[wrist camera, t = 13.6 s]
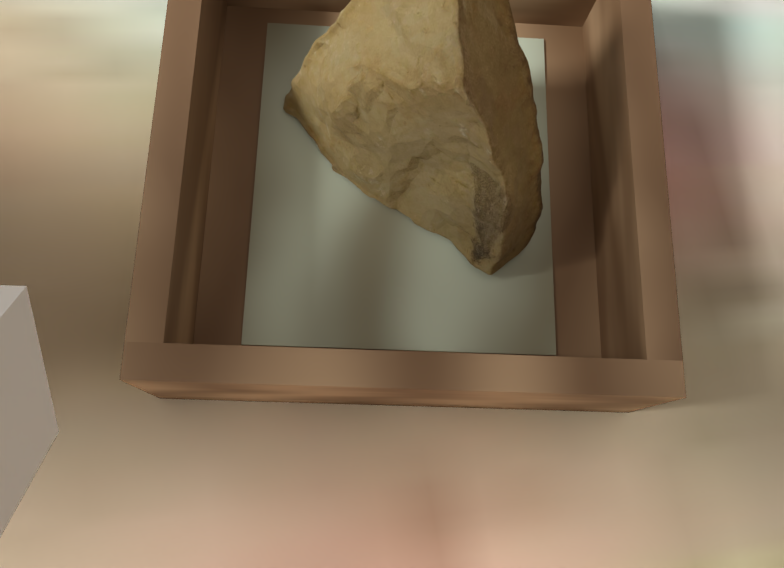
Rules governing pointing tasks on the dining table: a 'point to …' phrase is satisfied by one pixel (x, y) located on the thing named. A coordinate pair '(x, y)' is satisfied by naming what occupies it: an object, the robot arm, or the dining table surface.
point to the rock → (430, 118)
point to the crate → (400, 234)
